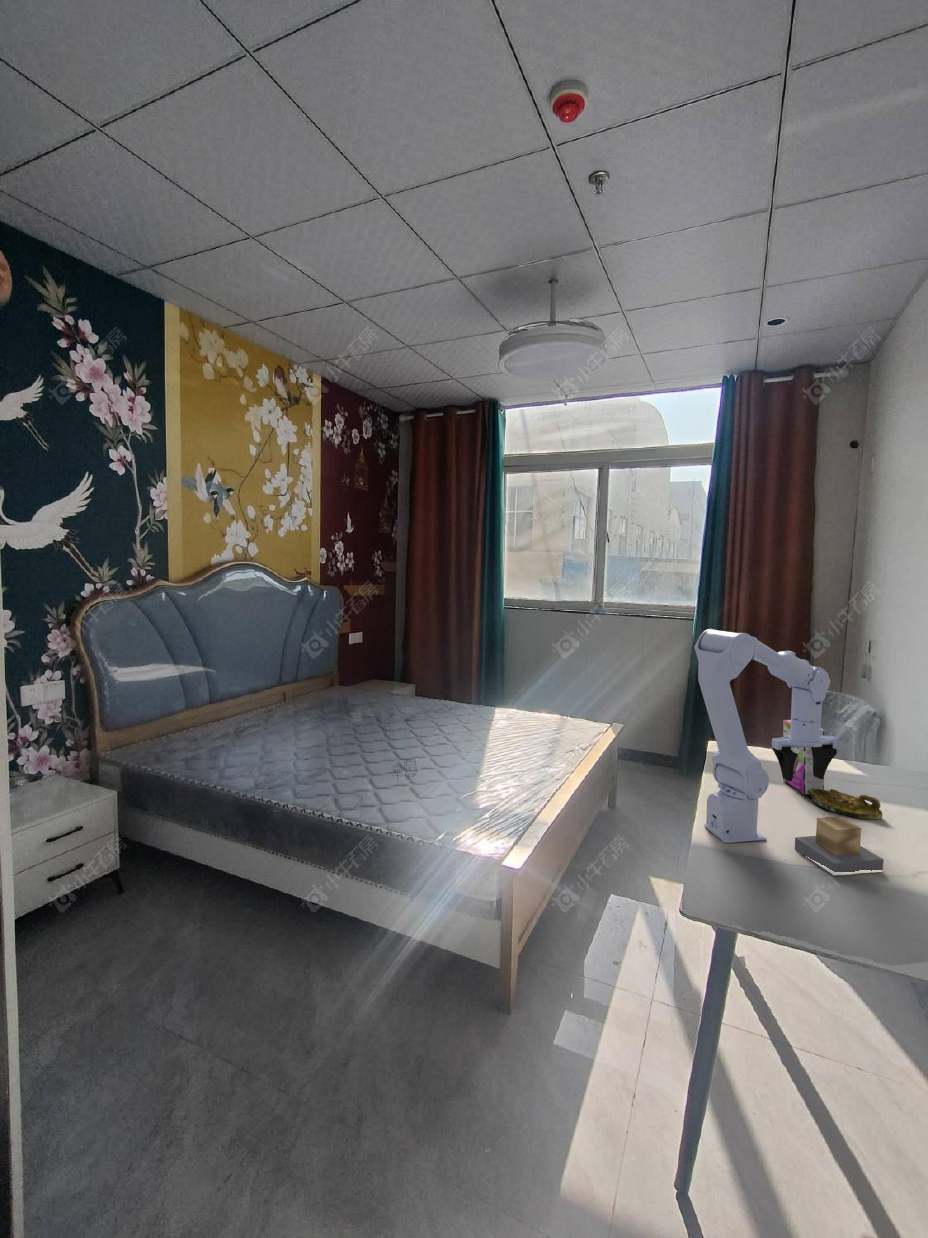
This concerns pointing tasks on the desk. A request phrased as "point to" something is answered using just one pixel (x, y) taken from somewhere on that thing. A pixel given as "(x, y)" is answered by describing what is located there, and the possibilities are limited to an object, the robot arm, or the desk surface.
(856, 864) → the charcoal plinth
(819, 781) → the candy bar box
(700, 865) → the desk surface
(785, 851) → the desk surface
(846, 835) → the oak cube
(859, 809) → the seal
